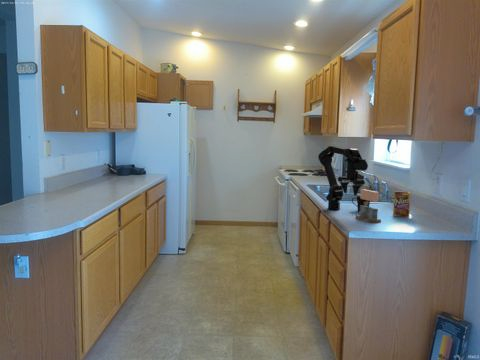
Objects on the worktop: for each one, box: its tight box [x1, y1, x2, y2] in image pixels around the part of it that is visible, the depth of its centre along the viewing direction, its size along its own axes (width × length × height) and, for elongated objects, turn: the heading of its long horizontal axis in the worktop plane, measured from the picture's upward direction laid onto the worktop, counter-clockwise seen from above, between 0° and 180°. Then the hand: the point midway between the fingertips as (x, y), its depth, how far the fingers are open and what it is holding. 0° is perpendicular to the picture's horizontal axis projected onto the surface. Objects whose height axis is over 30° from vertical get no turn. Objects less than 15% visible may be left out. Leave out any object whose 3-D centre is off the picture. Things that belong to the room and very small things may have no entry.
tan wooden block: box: [359, 188, 380, 203], centre depth 220 cm, size 12×2×6 cm, turn 23°
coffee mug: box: [351, 193, 371, 212], centre depth 248 cm, size 12×9×10 cm
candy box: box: [392, 190, 412, 219], centre depth 232 cm, size 9×4×15 cm, turn 60°
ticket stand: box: [355, 205, 382, 224], centre depth 221 cm, size 13×7×8 cm, turn 23°
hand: (350, 194), depth 237 cm, fingers open, 9 cm apart
